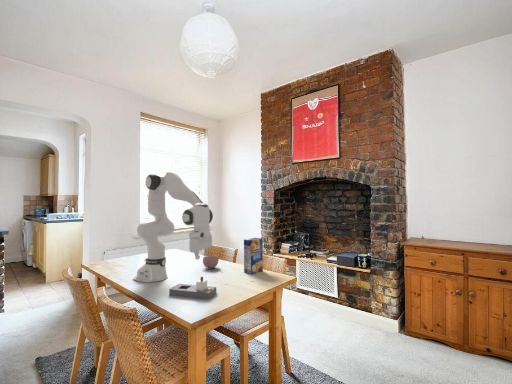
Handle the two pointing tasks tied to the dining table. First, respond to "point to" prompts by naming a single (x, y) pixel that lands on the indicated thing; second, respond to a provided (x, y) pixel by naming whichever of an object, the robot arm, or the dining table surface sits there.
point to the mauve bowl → (210, 261)
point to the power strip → (192, 291)
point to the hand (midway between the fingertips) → (201, 257)
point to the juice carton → (253, 255)
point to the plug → (201, 285)
